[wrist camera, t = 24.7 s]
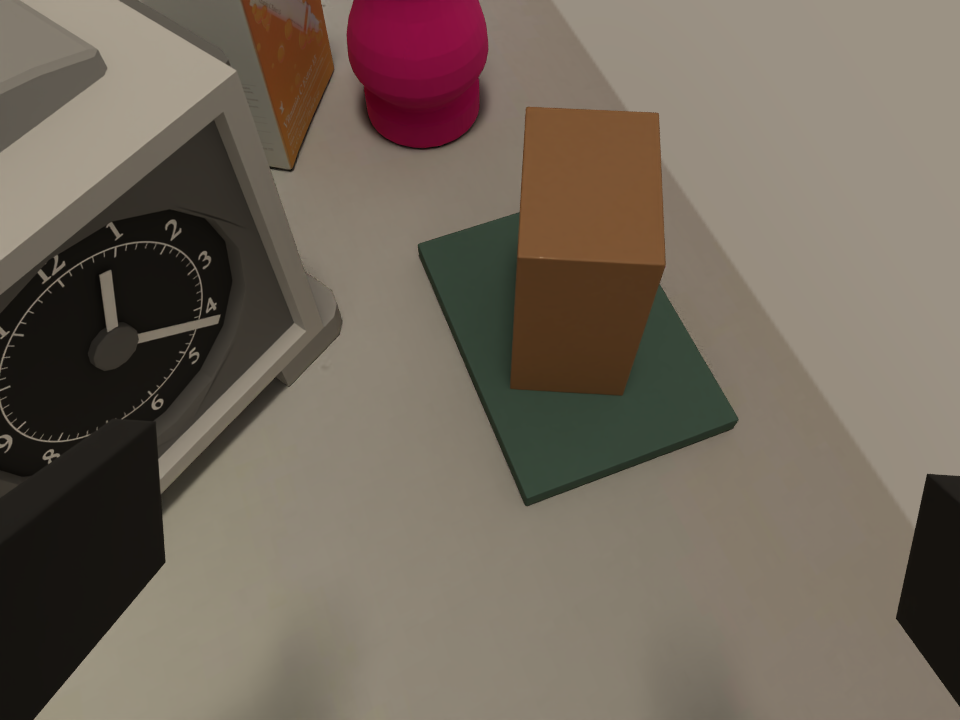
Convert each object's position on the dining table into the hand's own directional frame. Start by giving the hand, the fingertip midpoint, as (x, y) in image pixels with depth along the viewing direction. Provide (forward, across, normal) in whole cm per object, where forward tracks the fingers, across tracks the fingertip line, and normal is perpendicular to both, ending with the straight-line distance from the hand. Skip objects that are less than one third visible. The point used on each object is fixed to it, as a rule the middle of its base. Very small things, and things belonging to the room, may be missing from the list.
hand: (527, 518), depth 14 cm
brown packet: (+24, +2, -2) cm, 25 cm away
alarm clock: (+22, -19, -6) cm, 30 cm away
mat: (+25, +2, -3) cm, 25 cm away
